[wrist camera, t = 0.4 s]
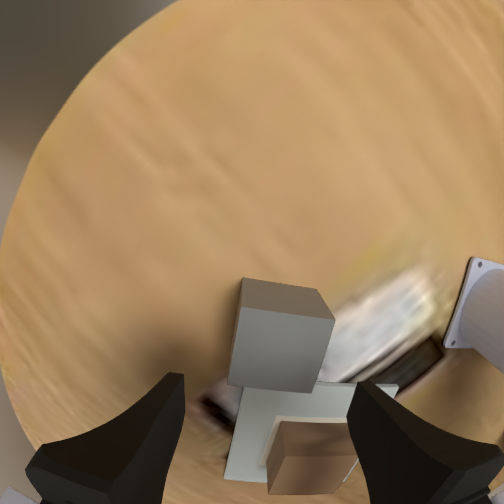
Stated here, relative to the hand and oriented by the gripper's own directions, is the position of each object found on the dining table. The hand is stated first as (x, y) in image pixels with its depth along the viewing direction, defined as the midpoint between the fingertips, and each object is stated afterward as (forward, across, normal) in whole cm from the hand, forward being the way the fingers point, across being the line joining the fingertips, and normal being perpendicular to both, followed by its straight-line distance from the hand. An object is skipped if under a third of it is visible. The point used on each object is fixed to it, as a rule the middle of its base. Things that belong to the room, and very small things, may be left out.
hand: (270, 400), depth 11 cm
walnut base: (+9, -5, +13) cm, 16 cm away
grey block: (+10, -1, 0) cm, 10 cm away
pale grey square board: (+9, -5, +13) cm, 17 cm away
